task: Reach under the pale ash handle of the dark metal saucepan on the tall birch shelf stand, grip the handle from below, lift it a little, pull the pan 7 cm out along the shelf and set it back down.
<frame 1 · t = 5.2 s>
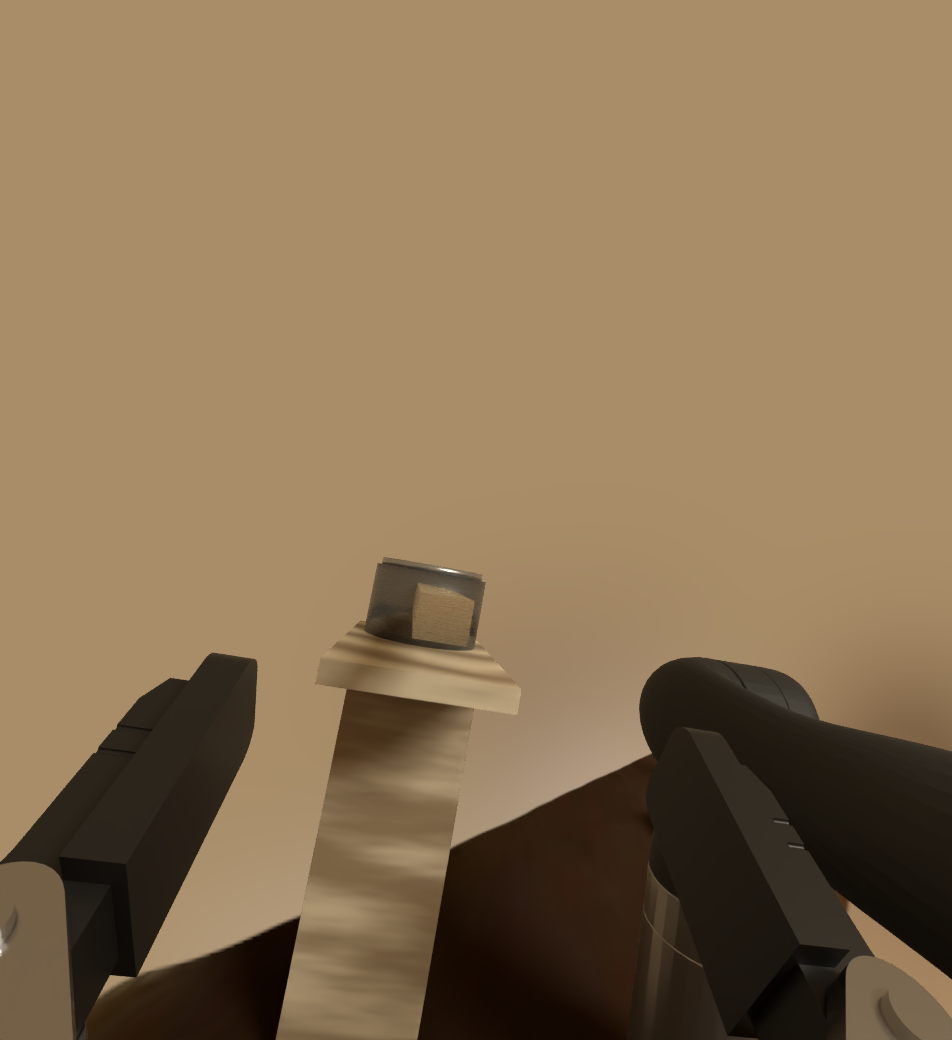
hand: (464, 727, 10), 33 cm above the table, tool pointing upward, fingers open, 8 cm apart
stand: (351, 1000, 42), on the table
saucepan: (419, 638, 45), point 30 cm above the table, touching stand
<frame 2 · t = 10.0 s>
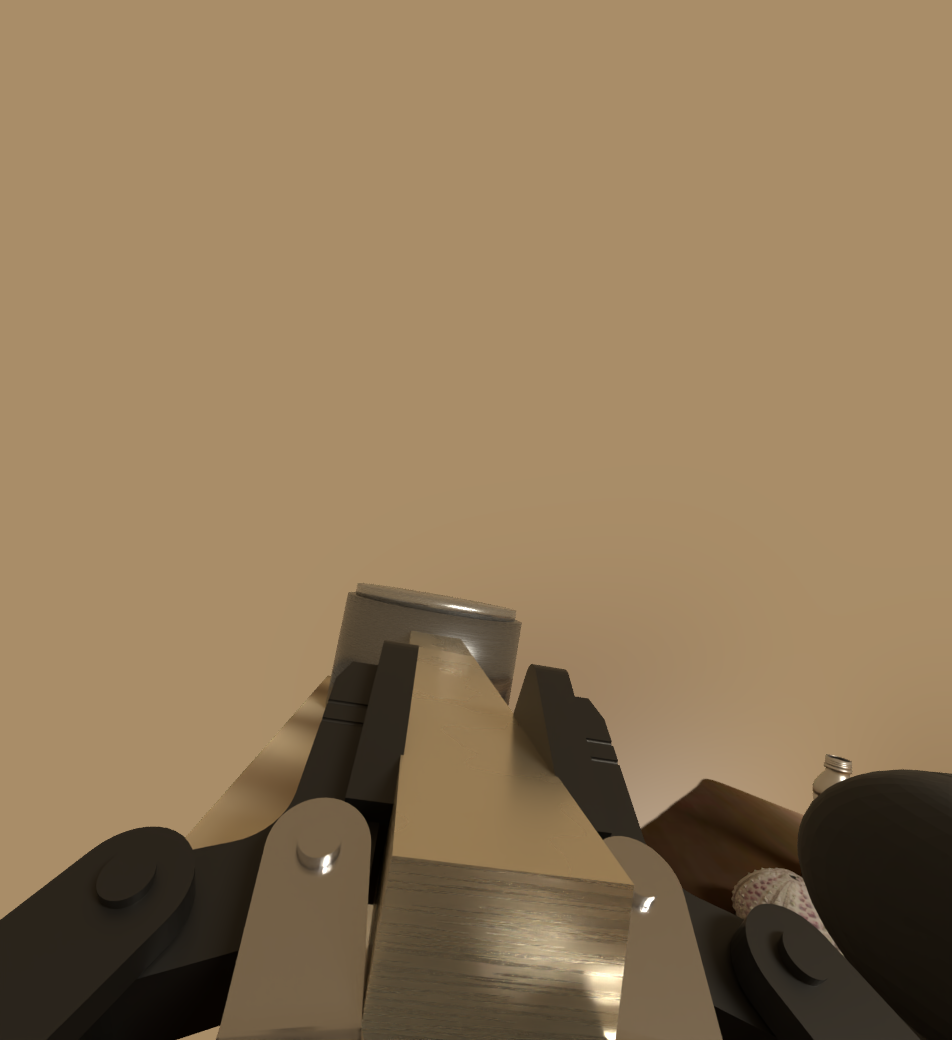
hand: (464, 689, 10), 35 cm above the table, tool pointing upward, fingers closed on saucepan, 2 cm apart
sea urchin shell: (788, 944, 64), on the table
plastic bottle: (828, 888, 81), on the table
saucepan: (416, 713, 28), point 30 cm above the table, touching gripper, stand
when the fingers open (36 cm above the table, at t = 13.4 s): saucepan stays where it is, resting on stand.
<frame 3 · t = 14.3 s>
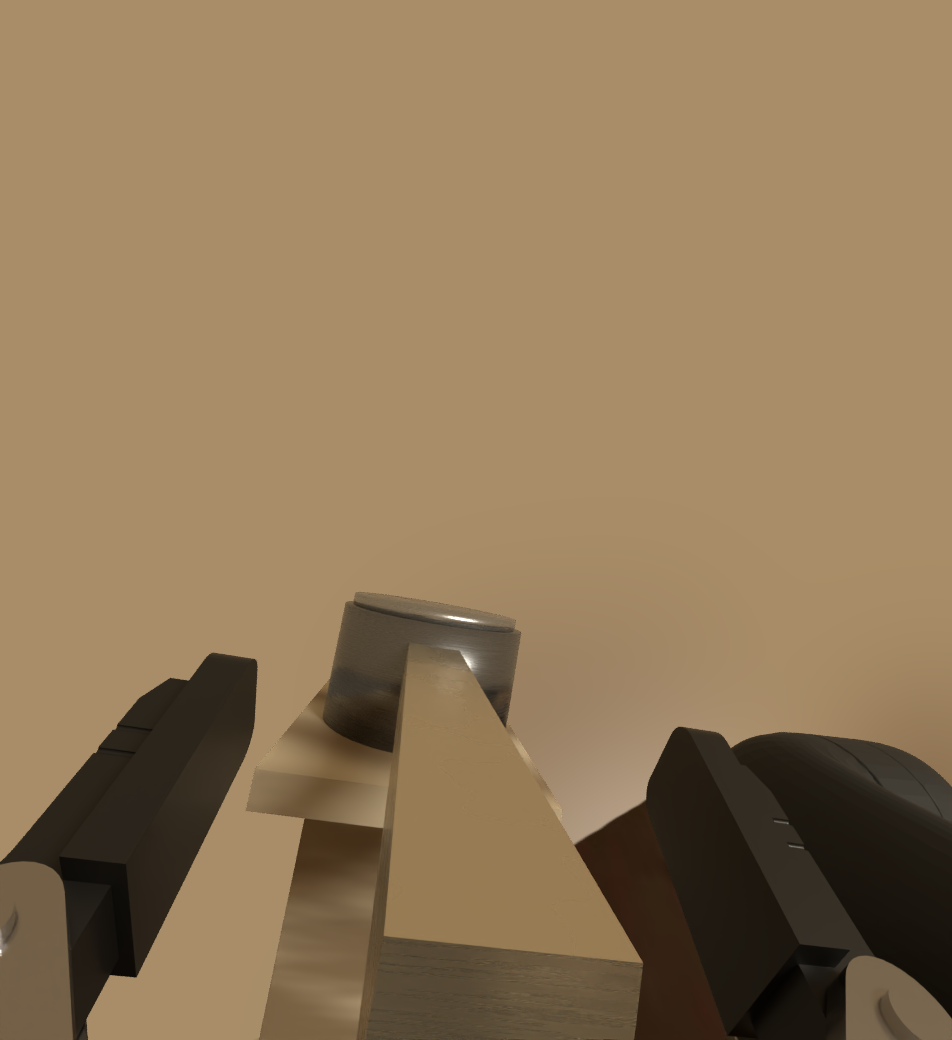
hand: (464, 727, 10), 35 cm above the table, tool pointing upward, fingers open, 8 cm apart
saucepan: (414, 724, 28), point 30 cm above the table, touching stand
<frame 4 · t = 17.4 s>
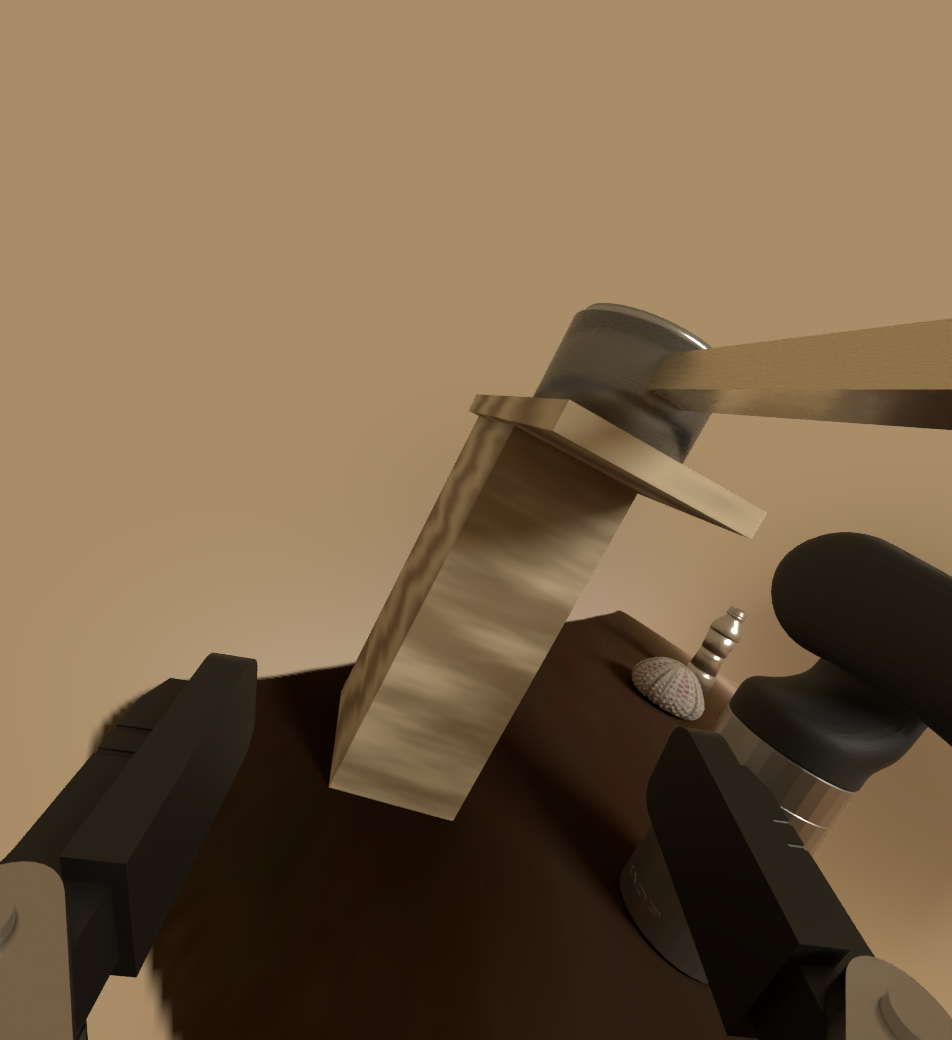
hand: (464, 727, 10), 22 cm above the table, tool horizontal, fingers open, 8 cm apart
stand: (391, 749, 43), on the table
sea urchin shell: (660, 703, 91), on the table
plastic bottle: (690, 688, 110), on the table
saucepan: (599, 442, 31), point 30 cm above the table, touching stand
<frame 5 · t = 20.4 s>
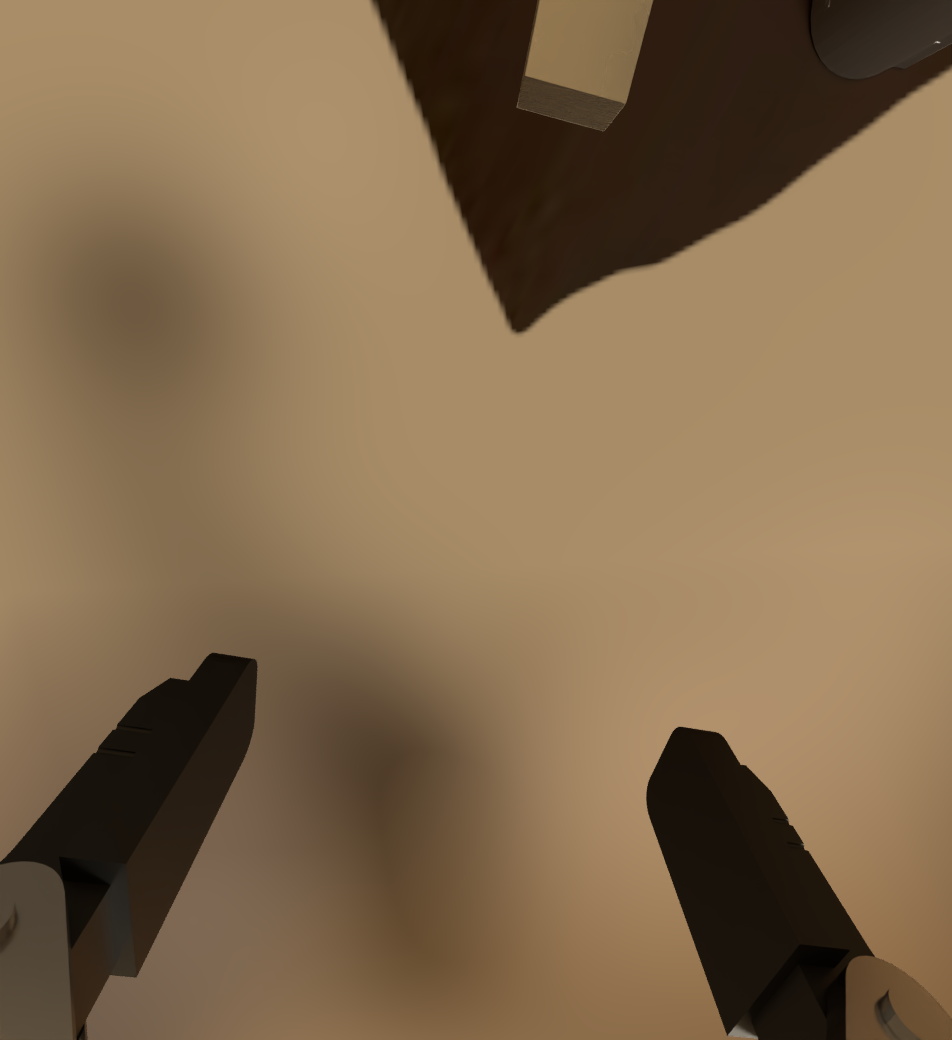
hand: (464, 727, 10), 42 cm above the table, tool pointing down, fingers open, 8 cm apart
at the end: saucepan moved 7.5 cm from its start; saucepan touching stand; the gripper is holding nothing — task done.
